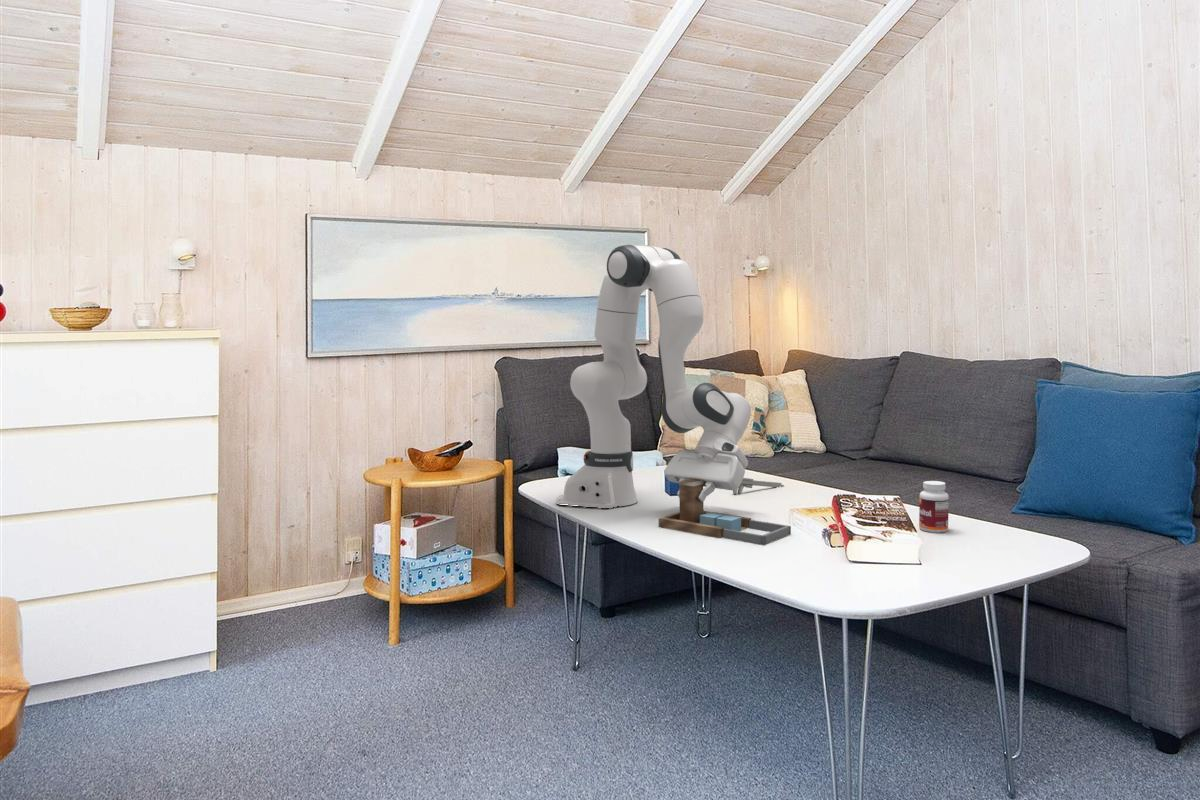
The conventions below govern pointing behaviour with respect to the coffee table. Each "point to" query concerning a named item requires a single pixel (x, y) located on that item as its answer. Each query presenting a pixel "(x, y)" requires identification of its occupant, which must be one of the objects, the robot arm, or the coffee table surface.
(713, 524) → the pale blue block
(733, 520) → the light blue block
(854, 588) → the coffee table surface
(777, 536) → the tray
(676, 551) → the coffee table surface
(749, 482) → the caliper
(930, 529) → the pill bottle
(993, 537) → the coffee table surface
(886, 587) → the coffee table surface
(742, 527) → the slot board
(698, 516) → the block
